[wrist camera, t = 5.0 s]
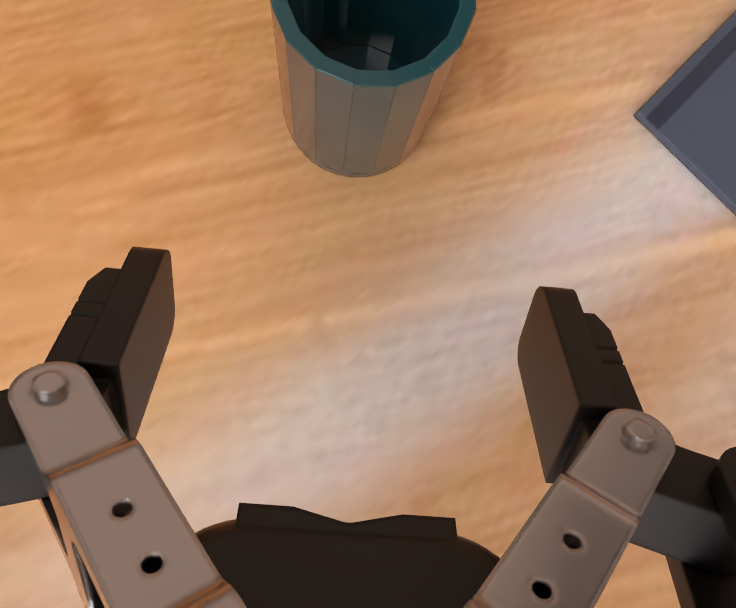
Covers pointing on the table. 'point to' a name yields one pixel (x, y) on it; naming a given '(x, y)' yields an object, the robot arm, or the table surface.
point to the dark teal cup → (364, 75)
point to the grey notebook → (701, 113)
